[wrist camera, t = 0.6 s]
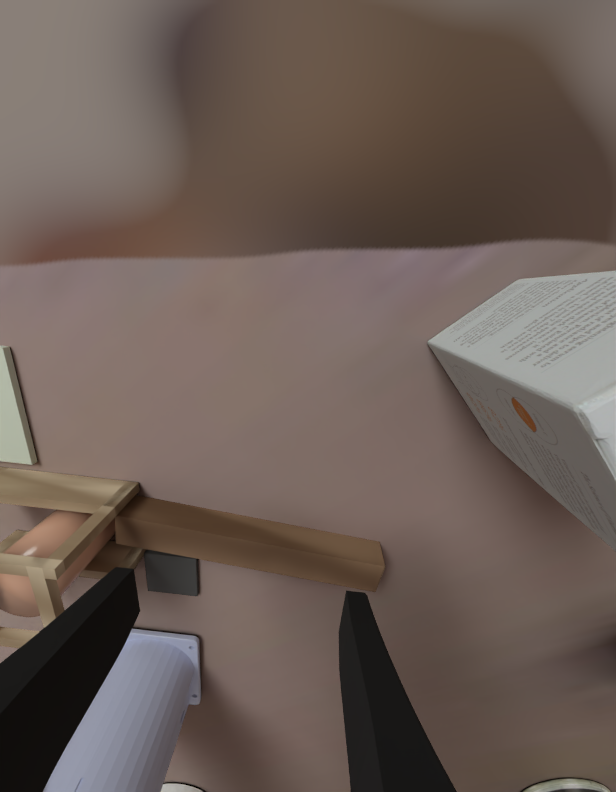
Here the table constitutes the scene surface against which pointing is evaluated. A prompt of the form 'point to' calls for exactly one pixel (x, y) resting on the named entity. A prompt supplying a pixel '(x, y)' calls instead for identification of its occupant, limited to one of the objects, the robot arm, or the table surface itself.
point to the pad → (13, 416)
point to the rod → (250, 543)
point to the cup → (179, 788)
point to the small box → (546, 385)
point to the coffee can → (568, 786)
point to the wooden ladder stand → (43, 572)
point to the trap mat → (171, 573)
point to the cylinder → (41, 543)
